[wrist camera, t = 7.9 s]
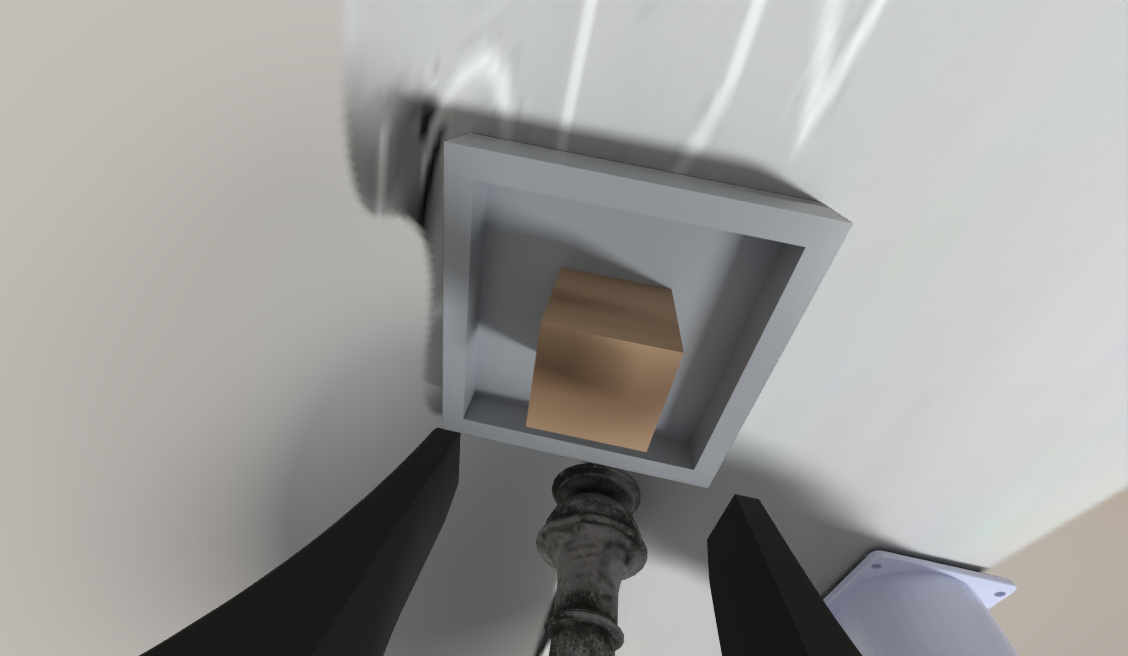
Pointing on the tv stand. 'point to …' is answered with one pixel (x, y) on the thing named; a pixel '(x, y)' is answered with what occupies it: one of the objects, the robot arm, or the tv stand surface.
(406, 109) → the tv stand surface
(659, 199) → the tray
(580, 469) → the dark grey turned piece
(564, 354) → the block
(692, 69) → the tv stand surface
